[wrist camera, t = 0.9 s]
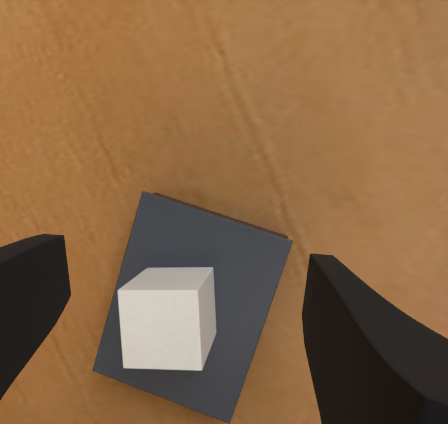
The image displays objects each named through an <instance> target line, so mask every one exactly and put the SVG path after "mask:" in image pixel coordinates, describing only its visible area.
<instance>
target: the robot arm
mask: <svg viewBox="0 0 448 424" xmlns="http://www.w3.org/2000/svg"><path fill="white" fill-rule="evenodd" d="M70 296H71V290H70V282H69V274H68V265H67V257H66V249H65V240H64V235H50V234H42V235H37V236H33V237H30V238H26V239H23V240H20V241H17V242H14V243H11V244H8V245H5V246H3V247H0V400H1V398H2V397H3V395H4V394H5V392H6V391H7V390H8V388H9V387H10V385H11V384H12V382H13V381H14V380H15V378H16V377H17V376H18V374H19V373H20V372H21V370H22V369H23V368H24V366H25V365H26V364H27V362H28V361H29V360H30V358H31V357H32V356H33V354H34V353H35V352H36V350H37V349H38V348H39V346H40V345H41V343H42V342H43V341H44V339H45V338H46V337H47V335H48V334H49V332H50V331H51V330H52V328H53V327H54V325H55V324H56V323H57V321H58V319H59V317H60V315H61V314H62V312H63V310H64V308H65V306H66V304H67V302H68V300H69V298H70ZM302 321H303V333H304V344H305V349H306V354H307V358H308V363H309V367H310V372H311V376H312V381H313V385H314V390H315V394H316V399H317V403H318V407H319V412H320V416H321V422H322V424H448V339H447V338H445V337H443V336H442V335H440V334H438V333H436V332H434V331H433V330H431V329H429V328H428V327H426V326H424V325H423V324H421V323H420V322H418V321H416V320H415V319H413V318H411V317H410V316H408V315H407V314H405V313H404V312H402V311H401V310H399V309H398V308H397V307H395V306H394V305H393V304H391V303H390V302H388V301H387V300H386V299H384V298H383V297H382V296H380V295H379V294H378V293H377V292H375V291H374V290H373V289H372V288H370V287H369V286H368V285H367V284H366V283H364V282H363V281H362V280H361V279H360V278H358V277H357V276H356V275H355V274H354V273H353V272H352V271H350V270H349V269H348V268H347V267H346V266H345V265H344V264H342V263H341V262H340V261H339V260H338V259H336V258H335V257H334V256H332V255H322V254H310V259H309V266H308V273H307V281H306V288H305V296H304V303H303V310H302Z"/></svg>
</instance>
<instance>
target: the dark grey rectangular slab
mask: <svg viewBox="0 0 448 424" xmlns="http://www.w3.org/2000/svg"><path fill="white" fill-rule="evenodd" d="M292 242H293V241H292V240H289V239H288V237H287V236H285V235H282V234H279V233H276V232H273V231H270V230H267V229H264V228H261V227H257V226H254V225H251V224H248V223H245V222H242V221H239V220H236V219H233V218H230V217H227V216H224V215H221V214H218V213H215V212H212V211H209V210H206V209H203V208H200V207H197V206H194V205H191V204H188V203H185V202H182V201H179V200H176V199H173V198H170V197H167V196H164V195H161V194H158V193H155V194H151V193H148V192H145V191H143V192H142V195H141V199H140V202H139V206H138V210H137V213H136V217H135V220H134V224H133V227H132V231H131V235H130V238H129V242H128V245H127V249H126V253H125V256H124V260H123V263H122V267H121V270H120V274H119V278H118V281H117V285H116V288H115V292H114V295H113V299H112V303H111V306H110V310H109V313H108V317H107V321H106V324H105V328H104V331H103V335H102V338H101V342H100V346H99V349H98V353H97V356H96V360H95V364H94V367H93V371H95V372H98V373H100V374H103V375H105V376H108V377H111V378H113V379H116V380H118V381H121V382H123V383H126V384H129V385H131V386H134V387H136V388H139V389H141V390H144V391H147V392H149V393H152V394H154V395H157V396H159V397H162V398H165V399H167V400H170V401H172V402H175V403H177V404H180V405H183V406H185V407H188V408H190V409H193V410H196V411H198V412H201V413H203V414H206V415H208V416H211V417H214V418H216V419H219V420H221V421H224V422H226V423H230V421H231V418H232V415H233V412H234V409H235V407H236V404H237V401H238V398H239V395H240V392H241V389H242V386H243V384H244V381H245V378H246V375H247V372H248V369H249V366H250V363H251V360H252V358H253V355H254V352H255V349H256V346H257V343H258V340H259V337H260V335H261V332H262V329H263V326H264V323H265V320H266V317H267V314H268V312H269V309H270V306H271V303H272V300H273V297H274V294H275V291H276V288H277V286H278V283H279V280H280V277H281V274H282V271H283V268H284V265H285V263H286V260H287V257H288V254H289V251H290V248H291V245H292ZM178 267H213V271H214V292H215V312H216V335H215V338H214V341H213V343H212V346H211V348H210V351H209V354H208V356H207V359H206V361H205V364H204V367H203V369H202V371H196V370H164V369H132V368H123V357H122V344H121V331H120V317H119V304H118V290H119V289H120V288H121V287H123V286H124V285H125V284H127V283H128V282H129V281H131V280H132V279H133V278H135V277H136V276H137V275H138V274H140V273H141V272H142V271H144V270H145V269H146V268H178Z"/></svg>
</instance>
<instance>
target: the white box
mask: <svg viewBox="0 0 448 424" xmlns="http://www.w3.org/2000/svg"><path fill="white" fill-rule="evenodd" d="M118 304H119V317H120V331H121V344H122V357H123V368H132V369H164V370H196V371H202V369H203V367H204V364H205V361H206V359H207V356H208V354H209V351H210V348H211V346H212V343H213V341H214V338H215V335H216V312H215V292H214V271H213V267H178V268H146V269H145V270H144V271H142V272H141V273H140V274H138V275H137V276H136V277H135V278H133V279H132V280H131V281H129V282H128V283H127V284H125V285H124V286H123V287H121V288H120V289H119V290H118Z"/></svg>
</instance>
